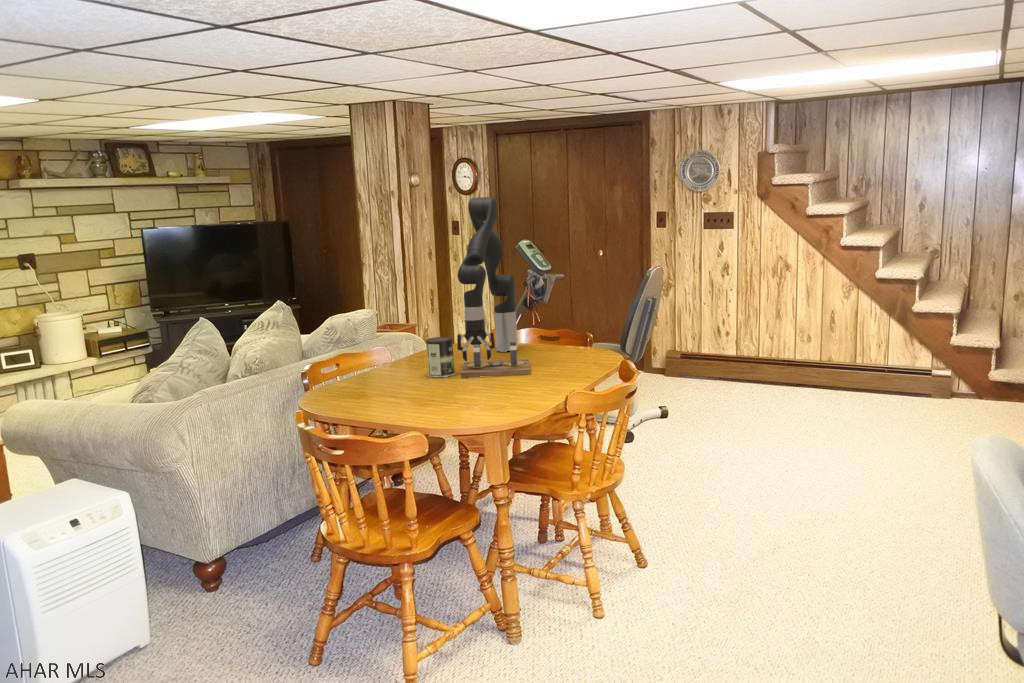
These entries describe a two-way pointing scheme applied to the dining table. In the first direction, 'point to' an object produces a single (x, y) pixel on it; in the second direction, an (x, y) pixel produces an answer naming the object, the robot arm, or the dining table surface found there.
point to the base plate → (496, 369)
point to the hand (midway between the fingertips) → (477, 360)
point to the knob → (513, 357)
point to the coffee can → (440, 357)
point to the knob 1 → (477, 358)
